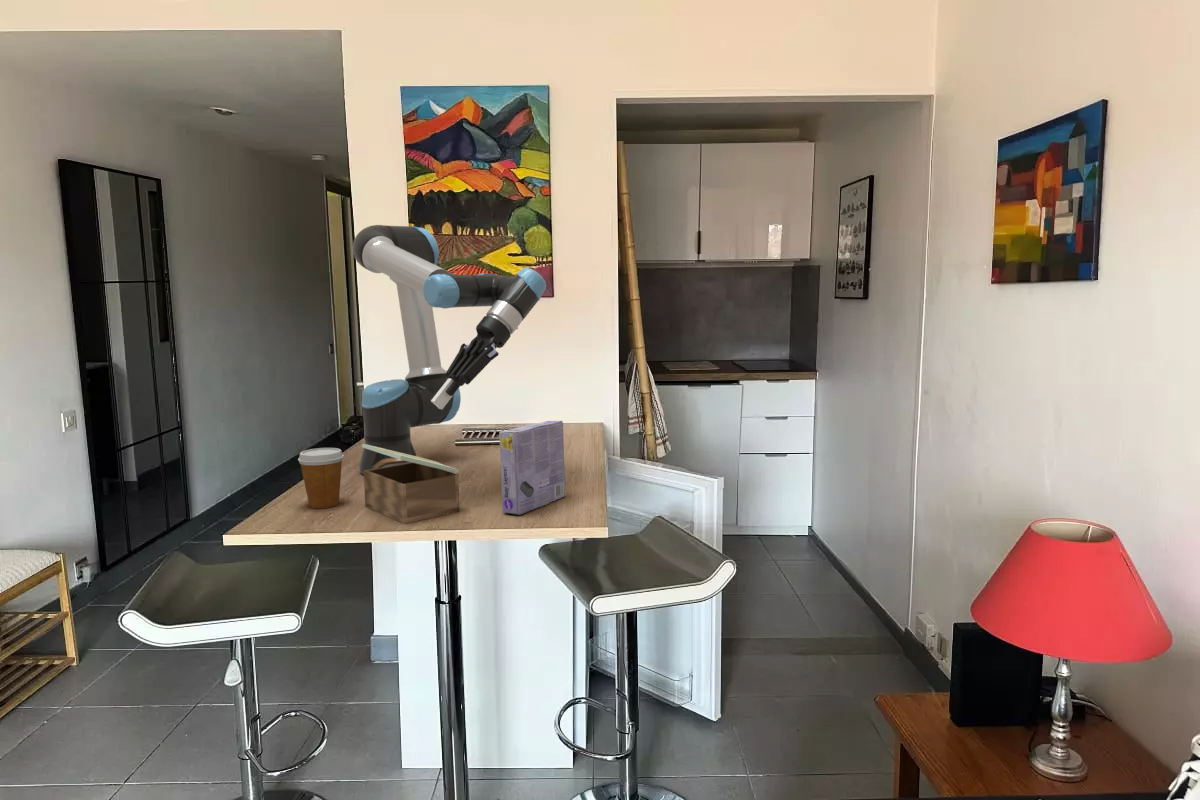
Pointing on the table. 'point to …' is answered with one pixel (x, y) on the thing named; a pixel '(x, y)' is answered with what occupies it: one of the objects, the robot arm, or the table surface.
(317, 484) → the disposable coffee cup
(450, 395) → the robot arm
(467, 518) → the table surface
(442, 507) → the walnut box
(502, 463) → the cake pan box
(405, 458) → the lid
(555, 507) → the table surface
